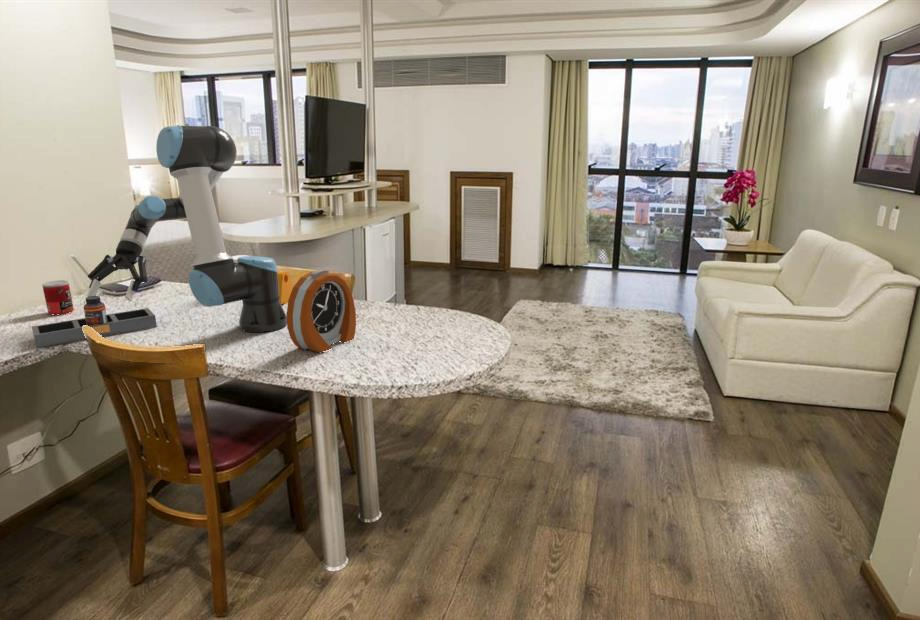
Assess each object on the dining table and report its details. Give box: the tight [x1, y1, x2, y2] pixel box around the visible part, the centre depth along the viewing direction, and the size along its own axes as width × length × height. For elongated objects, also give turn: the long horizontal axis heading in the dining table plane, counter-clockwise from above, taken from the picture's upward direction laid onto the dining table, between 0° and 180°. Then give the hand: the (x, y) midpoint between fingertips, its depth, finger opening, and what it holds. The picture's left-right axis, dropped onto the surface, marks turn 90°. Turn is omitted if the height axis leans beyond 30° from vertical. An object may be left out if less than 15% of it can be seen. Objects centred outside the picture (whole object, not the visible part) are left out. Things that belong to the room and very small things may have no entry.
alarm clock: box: [286, 269, 357, 353], centre depth 178 cm, size 22×10×23 cm, turn 151°
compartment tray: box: [31, 307, 158, 349], centre depth 192 cm, size 11×33×4 cm, turn 127°
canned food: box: [41, 279, 75, 316], centre depth 213 cm, size 8×8×11 cm
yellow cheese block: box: [277, 270, 294, 305], centre depth 225 cm, size 11×7×12 cm, turn 169°
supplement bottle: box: [83, 295, 108, 326], centre depth 190 cm, size 6×6×11 cm
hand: (109, 298), depth 197 cm, fingers open, 13 cm apart
